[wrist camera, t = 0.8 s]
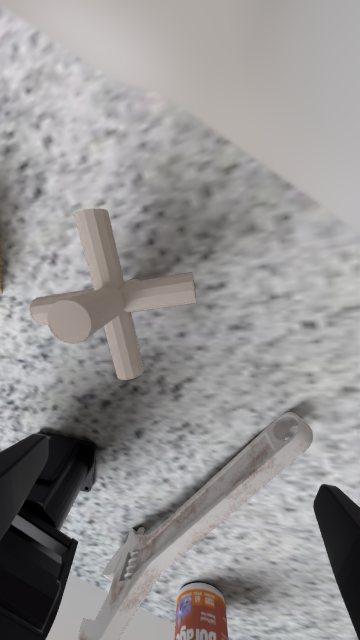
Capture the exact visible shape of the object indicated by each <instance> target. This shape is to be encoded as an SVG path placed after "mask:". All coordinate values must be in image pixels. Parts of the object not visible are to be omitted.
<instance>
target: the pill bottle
mask: <svg viewBox="0 0 360 640" xmlns="http://www.w3.org/2000/svg"><path fill="white" fill-rule="evenodd" d="M175 640H228V631H227V618H226V606H225V600H224V597H223V595H222V594H221V592H220V591H219V590H218V589H216V588H215V587H213V586H211V585H209V584H206V583H191V584H188V585H186V586H184V587H183V588H182V589H181V590H180V591H179V593H178V597H177V609H176V626H175Z"/></svg>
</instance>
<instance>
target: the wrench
mask: <svg viewBox="0 0 360 640" xmlns="http://www.w3.org/2000/svg"><path fill="white" fill-rule="evenodd" d="M296 425H298V429H297V432H296V434H295V435H294V436H293V438H290V439H287V440H285V435H286V433H287V431H288V430H289V429H290V428H291V427H293V426H296ZM312 440H313V434H312V430H311V428H310V426H309V425H308V424H307V423H305V422H304V421H303V420H302V419H301V418H300V417H299V416H298V415H296V414H295V413H293V412H286V413H284V414H283V415H282V416H280V417H279V418H278V419H276V420H275V421H274V422H272V423H271V424H270V425H269V426H268V427H267V428H265V429H264V430H263V431H262V432H261V433H260V434H259V435H258V436H257V437H256V438H255V439H254V440H253V441H252V442H251V443H249V444H248V445H247V446H246V447H245V448H244V449H243V450H242V451H241V452H240V453H239V454H238V455H237V456H236V457H234V458H233V459H232V460H231V461H230V462H229V463H228V464H227V465H226V466H225V467H224V468H222V469H221V470H220V471H219V472H218V473H217V474H216V475H215V476H214V477H213V478H212V479H210V480H209V481H208V482H207V483H206V484H205V485H204V486H203V487H202V488H201V489H200V490H199V491H197V492H196V493H195V494H194V495H193V496H192V497H191V498H190V499H189V500H188V501H187V502H186V503H185V504H183V505H182V506H181V507H180V508H179V509H178V510H177V511H176V512H175V513H174V514H173V515H172V516H170V517H169V518H168V519H167V520H166V521H165V522H164V523H163V524H161V525H160V526H159V527H158V528H157V529H156V530H155V531H153V532H152V533H149V534H146V535H143V534H144V528H143V527H140V528H139V529H138V531H136V530H134V529H133V528H131V529H130V532H129V535H128V538H127V541H126V543H125V544H124V545H122V546H121V547H120V548H119V550H118V551H117V552H116V553H115V555H114V556H113V557H112V559H111V560H110V562H109V563H108V565H107V566H106V568H105V569H104V572H103V574H102V575H103V576H105V577H107V578H108V579H110V580H112V581H113V582H112V585H111V588H110V591H109V594H108V596H107V598H106V600H105V602H104V604H103V605H102V607H101V610H100V611H99V613H98V615H97V617H96V619H95V620H89V619H84V618H83V620H82V623H81V626H80V631H79V640H119V639H120V637H121V636H122V634H123V632H124V631H125V629H126V627H127V626H128V624H129V622H130V620H131V619H132V617H133V616H134V614H135V612H136V611H137V609H138V607H139V605H140V604H141V603H142V601H143V600H144V598H145V597H146V595H147V594H148V593H149V591H150V590H151V588H152V587H153V585H154V584H155V582H156V581H157V580H158V578H159V577H160V575H161V574H162V572H164V571H165V570H166V569H167V568H168V567H169V566H171V565H172V564H173V563H174V562H175V561H176V560H178V559H179V558H180V557H181V556H182V555H184V554H185V553H186V552H187V551H188V550H189V549H191V548H192V547H193V546H194V545H195V544H196V543H198V542H199V541H200V540H201V539H202V538H204V537H205V536H206V535H207V534H208V533H209V532H211V531H212V530H213V529H214V528H215V527H216V526H218V525H219V524H220V523H221V522H222V521H224V520H225V519H226V518H227V517H228V516H229V515H231V514H232V513H233V512H234V511H235V510H236V509H238V508H239V507H240V506H241V505H242V504H244V503H245V502H246V501H247V500H248V499H249V498H251V497H252V496H253V495H254V494H255V493H256V492H258V491H259V490H260V489H261V488H262V487H264V486H265V485H266V484H267V483H268V482H269V481H271V480H272V479H273V478H274V477H275V476H276V475H278V474H279V473H280V472H281V471H282V470H284V469H285V468H286V467H287V466H288V465H289V464H291V463H292V462H293V461H294V460H295V459H296V458H298V457H299V456H300V455H301V454H302V453H304V452H305V451H306V450H307V449H308V448H309V447H310V445H311V443H312Z"/></svg>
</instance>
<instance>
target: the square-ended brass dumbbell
mask: <svg viewBox="0 0 360 640" xmlns="http://www.w3.org/2000/svg"><path fill="white" fill-rule="evenodd" d="M0 294H2V270H1V240H0Z"/></svg>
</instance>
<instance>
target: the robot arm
mask: <svg viewBox="0 0 360 640" xmlns="http://www.w3.org/2000/svg"><path fill="white" fill-rule="evenodd" d="M96 451H97V446H96V444H95V443H92V442H87V441H83V440H78V439H74V438H69V437H65V436H60V435H55V434H51V433H46V432H42V431H40V432H38V433H36V434H32V435H30V436H29V437H27V438H25V439H23V440H21V441H20V442H18V443H16V444H14V445H12V446H10V447H9V448H7V449H5V450H3V451H1V452H0V640H45V639H46V637H47V635H48V633H49V631H50V629H51V627H52V624H53V622H54V620H55V617H56V615H57V612H58V609H59V606H60V603H61V600H62V596H63V593H64V589H65V586H66V582H67V579H68V576H69V572H70V569H71V565H72V562H73V558H74V555H75V551H76V548H77V545H78V541H77V540H75V539H74V538H72V539H71V538H70V537H68V536H67V535H65V534H64V533H62V532H61V531H60V529H61V527H62V525H63V523H64V521H65V519H66V517H67V515H68V513H69V511H70V509H71V507H72V505H73V503H74V501H75V499H76V497H77V495H78V493H79V491H80V490H81V491H85V492H89V491H91V488H92V486H93V478H94V469H95V460H96ZM314 512H315V515H316V519H317V522H318V525H319V528H320V532H321V535H322V538H323V541H324V544H325V548H326V551H327V554H328V557H329V561H330V564H331V567H332V570H333V573H334V576H335V579H336V582H337V584H338V587H339V590H340V592H341V595H342V598H343V600H344V603H345V605H346V608H347V611H348V613H349V616H350V618H351V621H352V623H353V626H354V629H355V631H356V634H357V636H358V639H359V640H360V507H359V506H358V505H357V504H355V503H354V502H353V501H352V500H351V499H350V498H349V497H348V496H347V495H346V494H344V493H343V492H342V491H341V490H340V489H339V488H338V487H336V486H333V485H327V484H322V485H321V486H320V488H319V491H318V493H317V495H316V498H315V500H314Z"/></svg>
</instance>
